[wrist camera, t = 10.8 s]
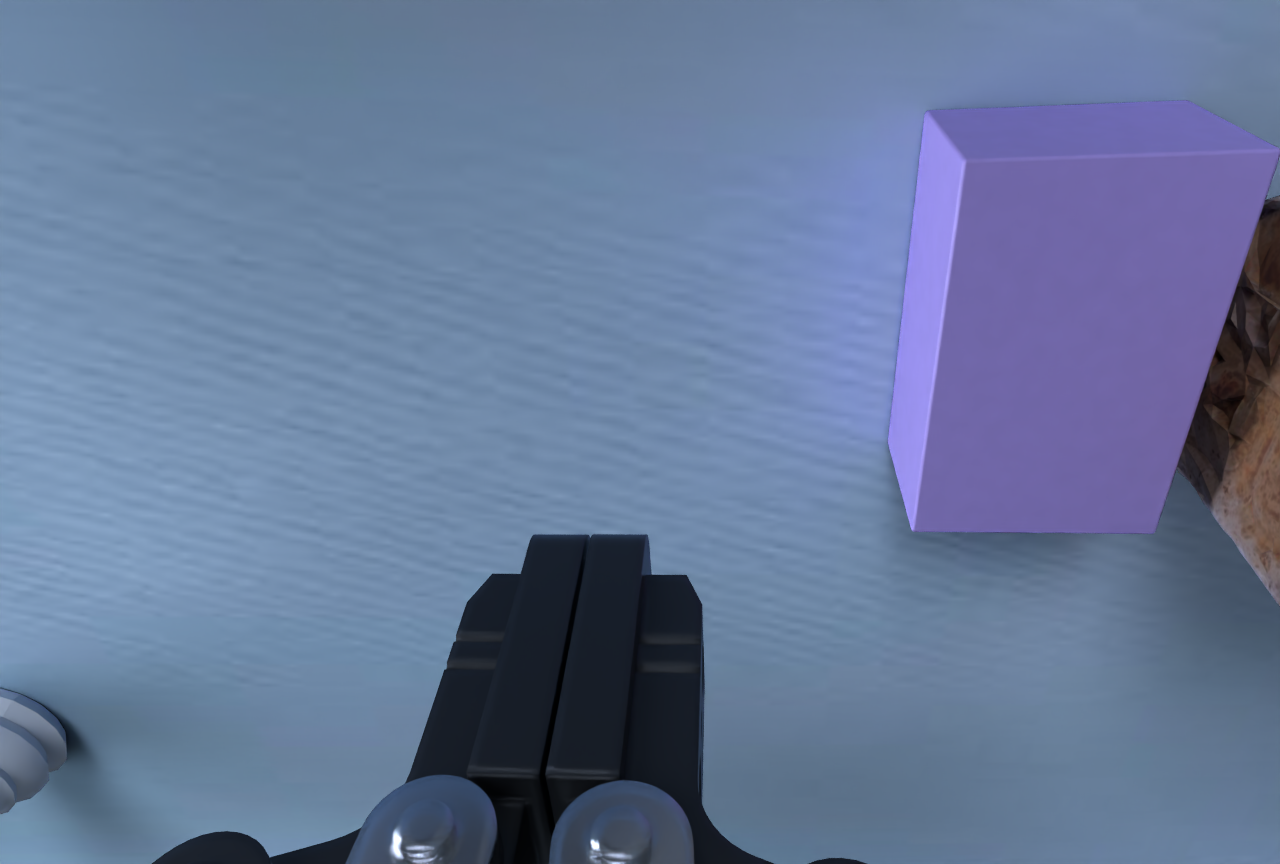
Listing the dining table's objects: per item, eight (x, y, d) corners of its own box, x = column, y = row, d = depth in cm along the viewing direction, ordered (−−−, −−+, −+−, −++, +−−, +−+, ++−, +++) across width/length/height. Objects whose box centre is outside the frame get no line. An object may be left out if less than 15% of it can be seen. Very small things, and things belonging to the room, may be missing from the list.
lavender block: (924, 109, 18) (963, 159, 15) (1190, 99, 17) (1284, 148, 14) (886, 443, 22) (910, 533, 19) (1097, 443, 21) (1156, 535, 18)
